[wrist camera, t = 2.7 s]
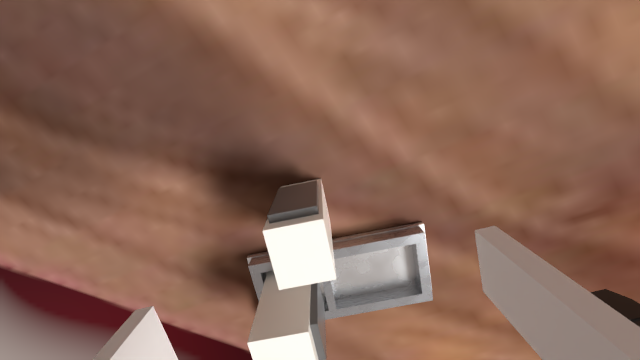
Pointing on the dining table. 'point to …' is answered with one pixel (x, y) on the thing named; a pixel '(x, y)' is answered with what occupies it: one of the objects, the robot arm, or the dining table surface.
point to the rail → (369, 271)
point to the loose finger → (300, 236)
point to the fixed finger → (288, 323)
